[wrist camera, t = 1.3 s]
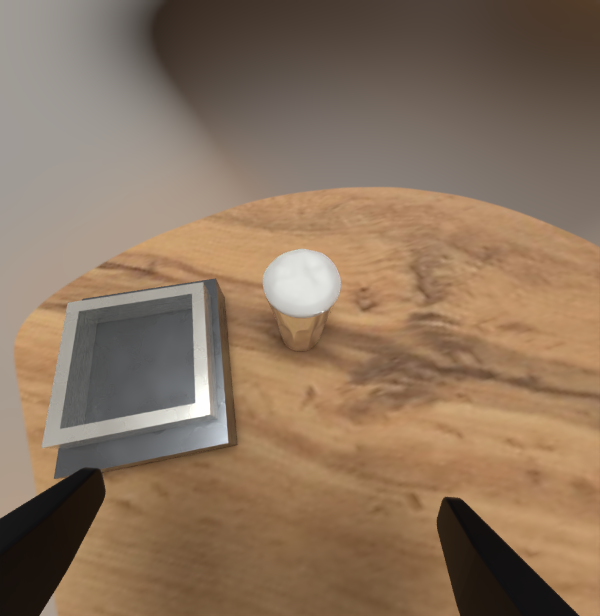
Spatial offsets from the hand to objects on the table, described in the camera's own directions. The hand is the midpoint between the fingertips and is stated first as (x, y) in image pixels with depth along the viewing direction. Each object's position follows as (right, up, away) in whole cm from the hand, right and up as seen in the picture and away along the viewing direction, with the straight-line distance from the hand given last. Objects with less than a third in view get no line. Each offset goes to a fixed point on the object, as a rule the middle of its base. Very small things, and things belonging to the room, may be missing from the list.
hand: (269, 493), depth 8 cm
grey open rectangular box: (-10, 0, +15) cm, 18 cm away
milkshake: (+1, +2, +17) cm, 17 cm away
